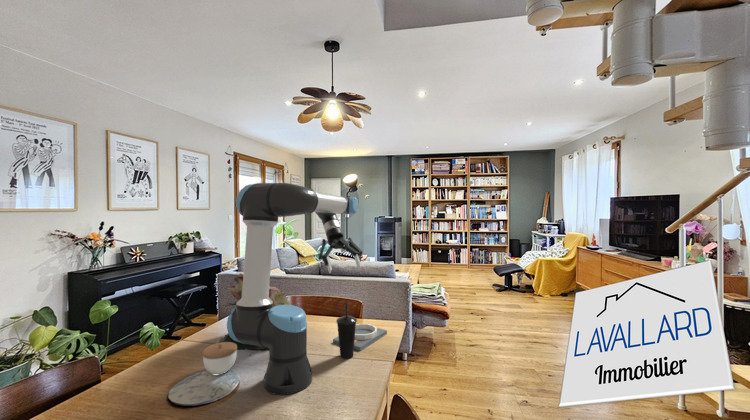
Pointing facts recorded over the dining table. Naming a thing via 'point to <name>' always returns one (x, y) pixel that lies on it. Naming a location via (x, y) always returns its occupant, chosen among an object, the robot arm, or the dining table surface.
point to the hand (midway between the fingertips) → (345, 269)
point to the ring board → (366, 342)
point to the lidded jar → (219, 357)
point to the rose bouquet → (236, 290)
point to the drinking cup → (346, 335)
